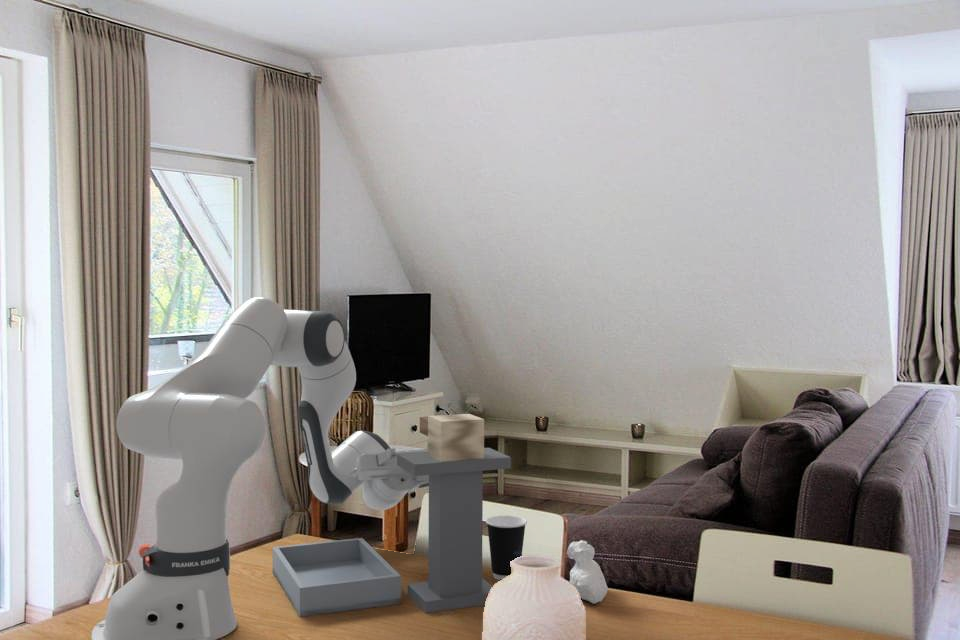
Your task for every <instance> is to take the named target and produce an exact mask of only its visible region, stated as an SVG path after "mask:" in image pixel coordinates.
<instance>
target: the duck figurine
mask: <svg viewBox="0 0 960 640" xmlns="http://www.w3.org/2000/svg"><path fill="white" fill-rule="evenodd" d="M595 552H596V550H595V548H594V547H593V546H592V545H591V544H588V542H587V541H586V540H583V539H581V540H579V541H574V540H573V541H572V542H570V544H569V545H568V547H567V550H566V555H567V557H568V558H569V559H571V560H574V561H575V564H574V566H573V567H572V568H571V569H570V571H569V584H570V583H572V584H574V586H575V587H576V589H577V590H578V592H579V593H580V596H581V598H582V599H581V600H585V601H587V602H590V603H591V604H594V605H595V604H598V603H601V602H603V600H604V598H605V597H606V595H607V593H608V589H609V587H608V585H607V582H606V579H605V576H604V573H603V572H602V570H601V566H600V565H599V564H598V562H596V560H594V557H595Z"/></svg>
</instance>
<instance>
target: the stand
mask: <svg viewBox="0 0 960 640" xmlns="http://www.w3.org/2000/svg"><path fill="white" fill-rule="evenodd" d="M397 465H398V466H399V467H401V468H403V469H404V470H406V471H407V472H409V473H411V474H412V475H414V476H422V475H429V486H428V561H427V562H428V565H427V566H428V567H427V568H428V571H427V573H428V576H427V577H428V578H427V579H428V581H420V582H419V581H418V582H412V583H407V589H406V591H407V593H406V594H407V596H408V597H409V598H410V599H411V600H412V601H413V602H414V603H415V604H416V606H418V607H419V608H420V609H421V610H422V611H423V612H424V614H428V613H435V612H443V611H449V610H455V609H456V610H458V609H464V608H471V607H477V606H478V607H479V606H485V605H484V604H485V601H486V598H487V596H488V593H489V591H490V589H491V587H492V586H493V585H492V584H491V583H489V582H488V581H487V580H485V578H483V508H484V506H483V501H484V500H483V497H484V495H483V494H484V493H483V491H484V490H483V489H484V488H483V487H484V484H483V482H484V480H483V479H484V477H483V475H484V471H495V470H497V471H498V470H506V469H507V470H508V469H512V457H511V456H509V455H507V454H504V453H502V452H500V451H497V450H496V449H493V448H491V447H484V459H473V460H460V461H446V462H441V461H439V460H437V459H435V458H433V457H431V456H429V455H428V452H420V453H405V454H397Z"/></svg>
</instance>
